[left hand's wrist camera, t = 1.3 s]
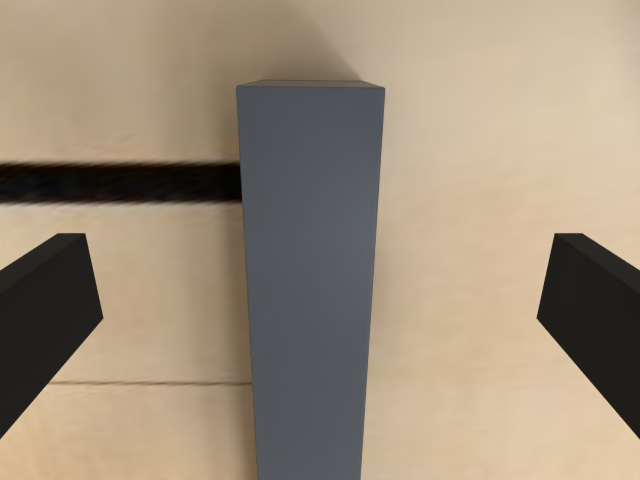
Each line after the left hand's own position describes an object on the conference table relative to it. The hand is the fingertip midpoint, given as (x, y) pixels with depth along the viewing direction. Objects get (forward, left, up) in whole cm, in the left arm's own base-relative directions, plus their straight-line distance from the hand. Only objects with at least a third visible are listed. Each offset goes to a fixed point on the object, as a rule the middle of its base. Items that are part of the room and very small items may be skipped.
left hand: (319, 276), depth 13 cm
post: (+18, +13, -14) cm, 26 cm away
